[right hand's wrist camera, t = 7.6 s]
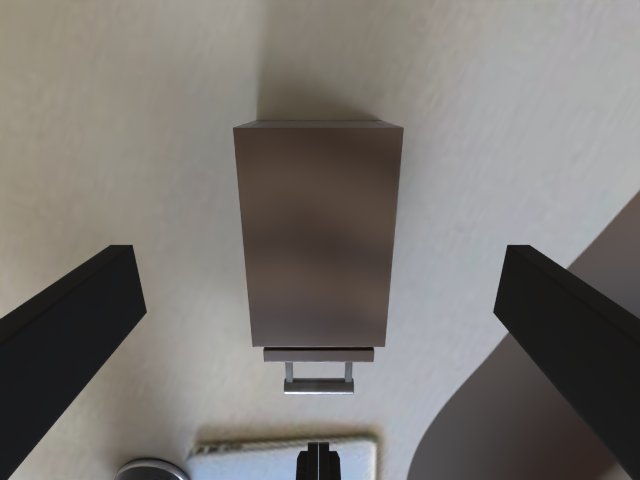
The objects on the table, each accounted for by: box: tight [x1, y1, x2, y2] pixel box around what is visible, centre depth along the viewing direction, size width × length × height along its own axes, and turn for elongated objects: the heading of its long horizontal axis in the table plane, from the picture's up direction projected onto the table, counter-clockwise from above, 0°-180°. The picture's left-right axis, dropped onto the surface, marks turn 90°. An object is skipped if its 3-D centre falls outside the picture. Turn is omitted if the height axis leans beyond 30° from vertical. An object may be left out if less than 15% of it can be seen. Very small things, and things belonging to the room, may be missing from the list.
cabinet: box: [233, 120, 404, 347], centre depth 27 cm, size 16×10×8 cm, turn 0°
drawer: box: [263, 347, 374, 394], centre depth 29 cm, size 20×9×6 cm, turn 0°
